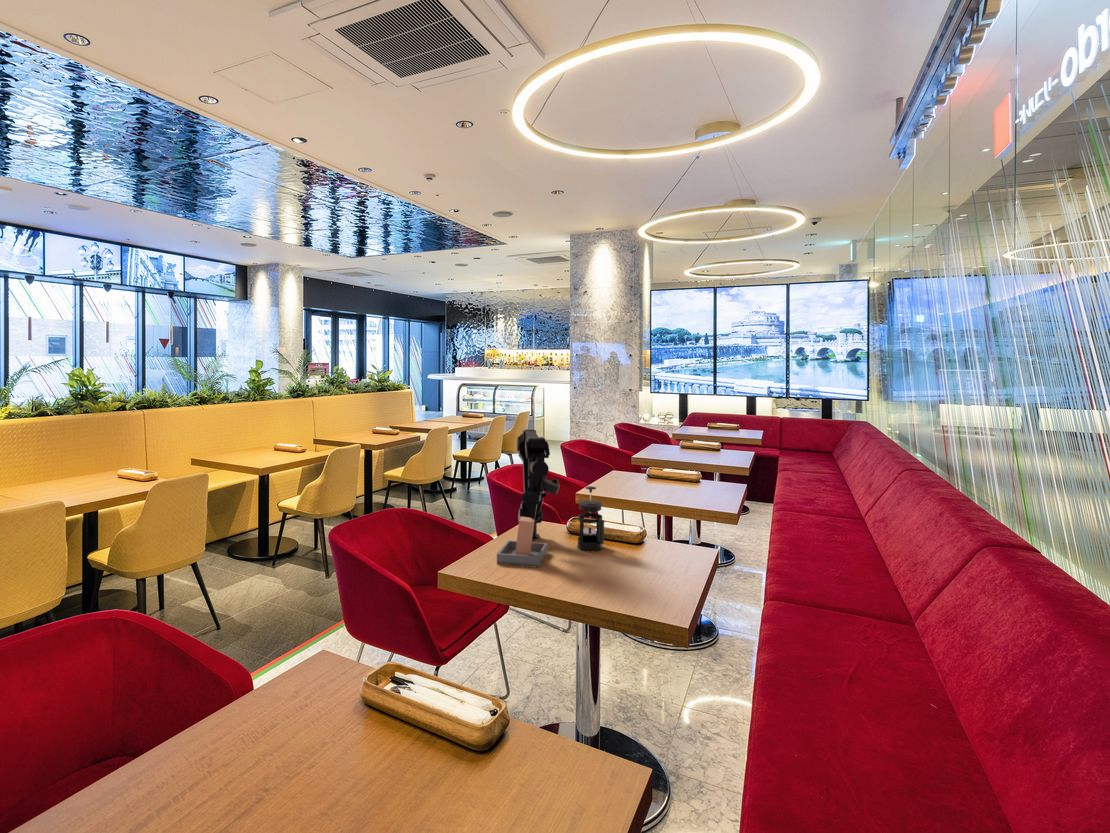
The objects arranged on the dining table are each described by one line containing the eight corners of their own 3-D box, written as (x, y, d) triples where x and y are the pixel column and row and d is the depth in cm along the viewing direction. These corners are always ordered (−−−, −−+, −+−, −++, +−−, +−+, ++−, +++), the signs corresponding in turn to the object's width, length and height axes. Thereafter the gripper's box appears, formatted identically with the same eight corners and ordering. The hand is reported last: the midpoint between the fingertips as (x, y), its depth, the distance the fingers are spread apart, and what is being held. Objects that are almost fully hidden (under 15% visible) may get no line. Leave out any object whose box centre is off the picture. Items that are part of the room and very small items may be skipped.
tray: (508, 549, 206) (508, 540, 206) (547, 552, 204) (547, 543, 203) (496, 563, 192) (496, 553, 192) (538, 567, 189) (538, 557, 189)
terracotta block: (516, 551, 200) (520, 516, 199) (530, 553, 200) (534, 518, 199) (514, 556, 195) (519, 520, 194) (529, 558, 195) (533, 522, 194)
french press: (570, 546, 211) (571, 486, 208) (588, 541, 217) (589, 482, 215) (592, 554, 202) (593, 491, 200) (610, 549, 208) (612, 488, 206)
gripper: (553, 478, 191) (553, 523, 192) (562, 469, 209) (562, 510, 210) (521, 476, 193) (521, 521, 194) (533, 468, 211) (533, 509, 212)
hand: (535, 515), depth 202 cm, fingers open, 8 cm apart
